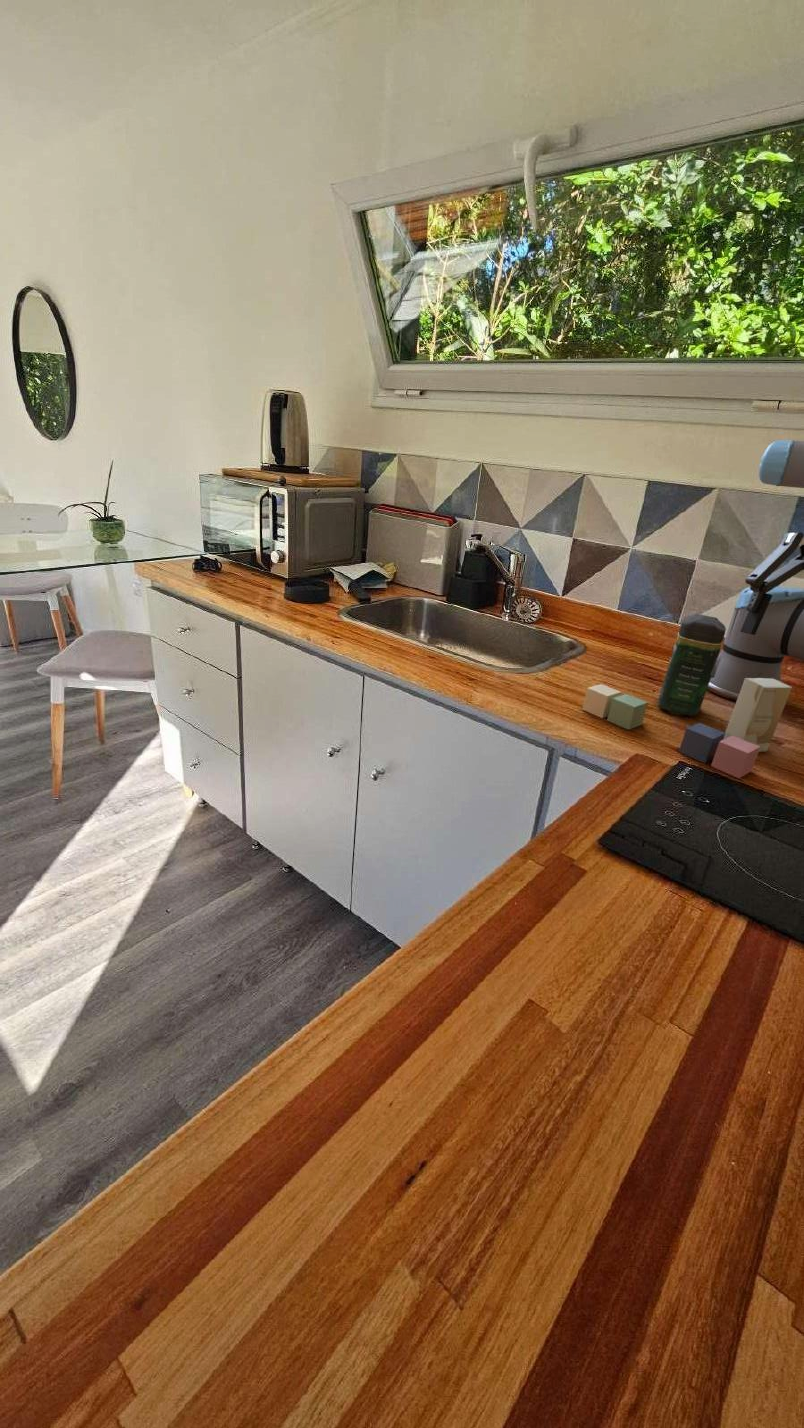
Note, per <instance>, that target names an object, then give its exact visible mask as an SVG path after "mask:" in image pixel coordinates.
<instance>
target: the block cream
mask: <svg viewBox="0 0 804 1428" xmlns="http://www.w3.org/2000/svg"><path fill="white" fill-rule="evenodd" d="M621 695H622V691H620V690H617V689H615V688H613V687H610V686H608V685H605V684H602V683H600V684H596V685H592V686H588V687H587V688H586V692H585V696H584V700H583V705H582V708H581V709H582V711H585V712H587V713H589V714H591V715H594V716H596V717H598V718H600V719H604V718H608V715H609V711H610V707H611V703H612V699H613V698H615V697H618V696H621Z"/></svg>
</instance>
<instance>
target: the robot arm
mask: <svg viewBox="0 0 804 1428" xmlns="http://www.w3.org/2000/svg"><path fill="white" fill-rule="evenodd" d="M758 477H759V480H760V482H761V483H762V484H765V485H770V486H776V487H786V488H798V489H804V440H794V439H787V440H786V439H785V440H781V439H779V440H775V441H773V442H771V443H770V444H769V445H768V446H767V448H765V451H764V452H763V455H762V457H761V460H760V462H759V467H758ZM797 549H799V554H798V555H797V556H795V557H794V558H792V559H790V560H788V563H786V564H784V565H783V563H784V562H785V561H786V560H787V559H788V558H790V557H791V556H792V555H793V554H794V552H795V551H796V550H797ZM781 565H783V566H781ZM780 566H781V567H780ZM779 567H780V568H779ZM802 571H804V533H803V532H801V531H797V532H795V531H794V532H793V531H791V532H787V533H786V534H785V535H784V537H783V539H782V540H781V542H780V543H779V545H778V546H777V547H776V548H775V549H774V550H773V551H772V552H771V553H770V554H769V555H768V556H767V557H766V558H765V559H764V560H763V561H762V562H760V564H759V565H758V566H757V567H756V568H755V569H754V570H753V571H752V572H751V573H750V574H748V575H747V577H746V578H745V580H744V582H745V584H746V585H749V587H745V588H744V589H742V590H741V592H740V595H739V597H738V599H737V602H736V604H735V605H734V607H733V609H734V610H733V613H732V616H731V619H730V622H729V625H728V628H727V631H726V634H725V637H724V640H723V643H722V646H721V649H720V652H719V655H718V658H717V661H716V665H715V668H714V670H713V673H712V676H711V679H710V682H709V685H708V687H707V690H706V691H709V692H711V693H712V694H715V695H717V696H719V697H722V698H725V699H728V700H731V701H735V702H737V699H738V696H739V694H740V691H741V688H742V686H743V683H744V680H745V678H773V679H775V680H777V681H780V682H782V664H783V662H784V658H785V656H786V657H789V658H794V659H796V660H801V661H804V589H802V588H799V587H789V586H780V585H781V584H783V583H785V582H786V581H788V580H789V579H791V578H792V577H794V576H796V575H797V574H800V572H802Z"/></svg>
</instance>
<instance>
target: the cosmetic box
mask: <svg viewBox="0 0 804 1428" xmlns="http://www.w3.org/2000/svg"><path fill="white" fill-rule="evenodd" d="M792 690H793V687H792V686H791V685H788V684H786V683H784V682H782V681H781V682H780V681H777V680H775V679H773V678H745V680H744V683H743V686H742V688H741V691H740V694H739V696H738V699H737V701H735V705H734V708H733V711H732V712H731V716H730V719H729V721H728V724H727V727H726V729H725V732H724V733H725V736H724V739H726V738H728V737H730V736H735V737H737V738H740V739H742V740H745V741H747V742H750V743H752V744H755V745H757V746H760V749H759V752H758V753H760V752H761V753H762V752H767V751H768V749H769V747H770V745H771V742H772V739H773V737H774V734H775V731H776V729H777V727H778V724H779V721H780V719H781V717H782V714H783V712H784V709H785V707H786V704H787V701H788V699H789V697H790V694H791V691H792ZM724 739H723V740H724Z"/></svg>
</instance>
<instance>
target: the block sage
mask: <svg viewBox="0 0 804 1428" xmlns="http://www.w3.org/2000/svg"><path fill="white" fill-rule="evenodd" d="M648 704H649V702H648V701H645V700H643V699H641V698H637V697H636V696H633V695H631V694H628V693H624V694H621V695H620V696H618V697H615V698H613V699H612V703H611V707H610V711H609V715H608V716H607V719H606V721H608V722H609V723H612V724H614V725H615V726H616V725H617V726H619V727H621V728H623V729H625V730H628V731H629V730H632V729H634V728H637V727H640V726H642V725H643V722H644V718H645V715H646V711H647V708H648Z"/></svg>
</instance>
